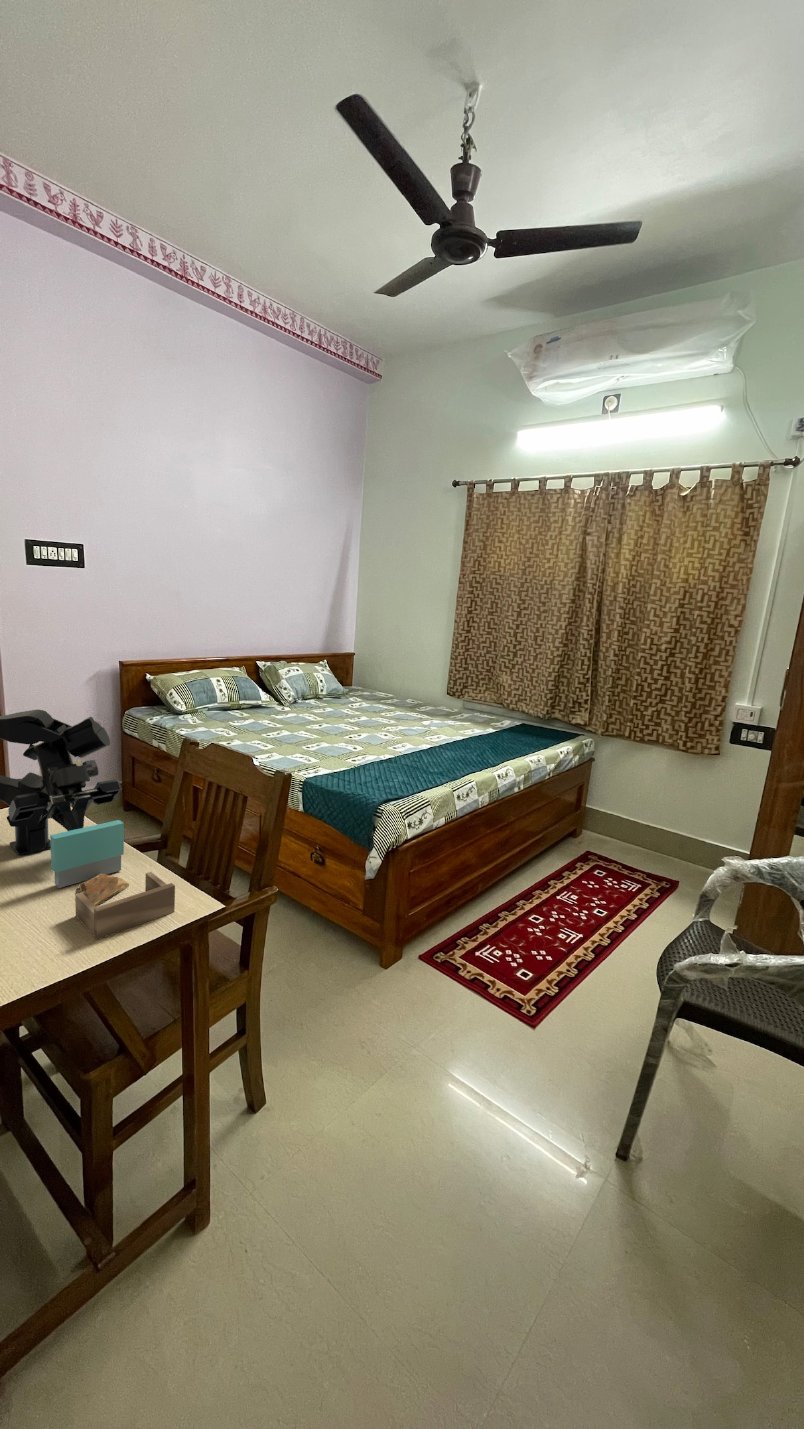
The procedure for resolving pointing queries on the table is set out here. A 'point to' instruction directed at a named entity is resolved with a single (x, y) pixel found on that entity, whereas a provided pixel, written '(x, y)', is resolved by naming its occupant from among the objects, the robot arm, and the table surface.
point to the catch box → (127, 908)
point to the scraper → (87, 852)
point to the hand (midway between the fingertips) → (79, 838)
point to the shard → (102, 888)
